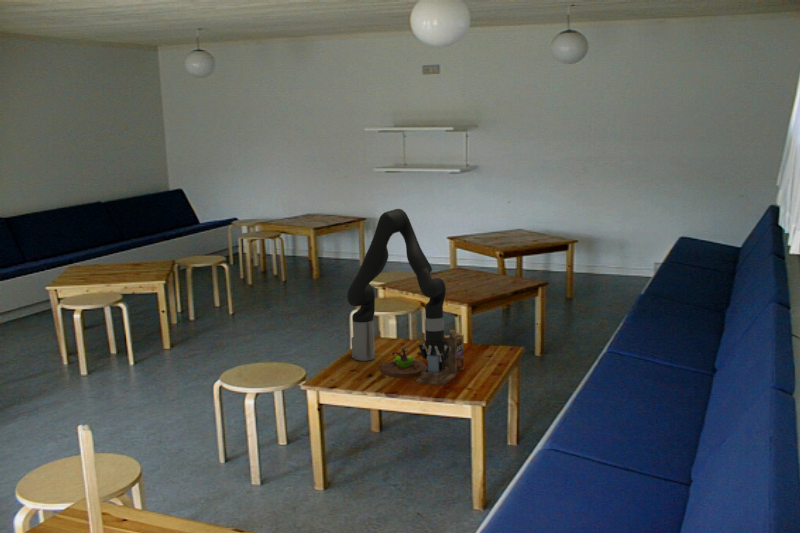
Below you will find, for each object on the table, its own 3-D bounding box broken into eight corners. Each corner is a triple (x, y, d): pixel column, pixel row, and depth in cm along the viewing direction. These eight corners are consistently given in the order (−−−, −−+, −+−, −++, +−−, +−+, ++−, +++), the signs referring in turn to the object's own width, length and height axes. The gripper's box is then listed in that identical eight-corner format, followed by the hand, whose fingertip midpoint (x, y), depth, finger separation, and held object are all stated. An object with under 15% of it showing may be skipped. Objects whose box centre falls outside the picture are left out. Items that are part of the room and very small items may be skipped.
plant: (388, 381, 304) (387, 354, 302) (375, 368, 322) (374, 343, 321) (434, 375, 310) (434, 349, 308) (419, 363, 328) (418, 338, 327)
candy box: (447, 373, 311) (446, 337, 308) (441, 371, 314) (440, 335, 312) (464, 369, 316) (464, 334, 313) (458, 367, 319) (457, 332, 317)
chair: (416, 382, 300) (414, 336, 298) (430, 372, 313) (429, 327, 310) (444, 385, 295) (443, 338, 292) (457, 375, 308) (456, 330, 305)
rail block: (428, 375, 301) (427, 356, 300) (434, 370, 307) (434, 351, 306) (437, 376, 299) (436, 356, 298) (443, 371, 305) (443, 352, 304)
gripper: (414, 329, 300) (415, 370, 302) (447, 331, 294) (448, 374, 296) (422, 324, 306) (423, 365, 309) (454, 327, 300) (455, 368, 303)
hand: (435, 369), depth 303 cm, fingers closed on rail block, 3 cm apart
